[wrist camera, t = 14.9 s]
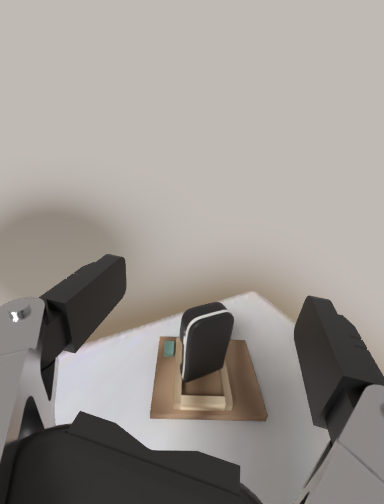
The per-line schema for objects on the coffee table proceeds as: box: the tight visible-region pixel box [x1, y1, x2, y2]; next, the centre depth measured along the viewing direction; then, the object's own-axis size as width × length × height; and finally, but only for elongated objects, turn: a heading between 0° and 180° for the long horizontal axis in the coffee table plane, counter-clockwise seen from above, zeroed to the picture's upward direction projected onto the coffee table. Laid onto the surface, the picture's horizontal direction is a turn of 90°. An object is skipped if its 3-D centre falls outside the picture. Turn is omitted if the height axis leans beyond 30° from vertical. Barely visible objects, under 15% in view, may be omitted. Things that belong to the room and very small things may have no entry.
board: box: [150, 337, 267, 421], centre depth 36 cm, size 16×13×3 cm
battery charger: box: [180, 302, 234, 383], centre depth 32 cm, size 7×4×11 cm, turn 116°
